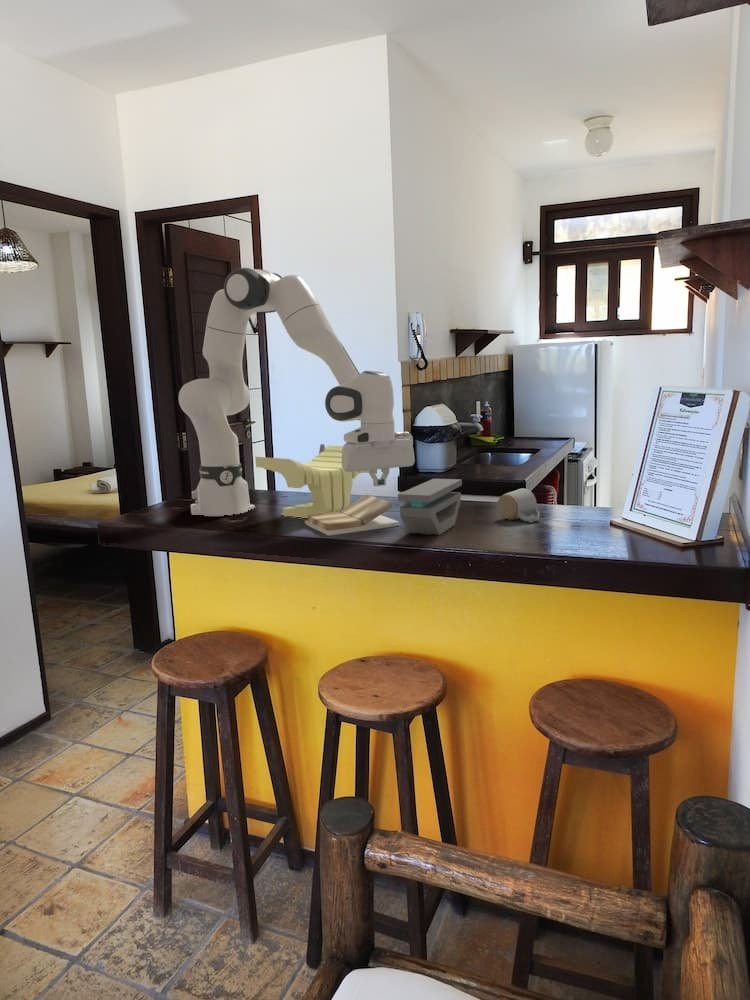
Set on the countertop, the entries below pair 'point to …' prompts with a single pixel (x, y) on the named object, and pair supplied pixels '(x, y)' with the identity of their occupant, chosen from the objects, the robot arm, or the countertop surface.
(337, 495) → the yellow ribbed sculpture
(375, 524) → the underlay board
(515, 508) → the ceramic mug
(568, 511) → the countertop surface
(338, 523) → the oak plank
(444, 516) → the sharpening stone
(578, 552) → the countertop surface
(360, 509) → the ash plank
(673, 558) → the countertop surface
